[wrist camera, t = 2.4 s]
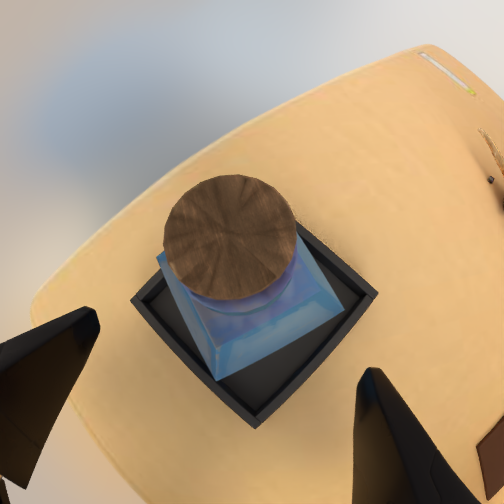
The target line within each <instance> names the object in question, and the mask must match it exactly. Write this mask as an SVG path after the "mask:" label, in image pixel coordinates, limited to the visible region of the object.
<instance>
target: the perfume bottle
mask: <svg viewBox="0 0 504 504" xmlns="http://www.w3.org/2000/svg"><path fill="white" fill-rule="evenodd" d="M163 246H164V251H163V252H162V253H161V254H159V255H158V256H157V257H156V258H157V260H158V263H159V265H160V268H161V270H162V272H163V275H164V277H165V279H166V281H167V284H168V286H169V288H170V290H171V293H172V295H173V297H174V299H175V301H176V304H177V306H178V308H179V310H180V312H181V314H182V316H183V319H184V321H185V323H186V325H187V327H188V329H189V331H190V333H191V335H192V337H193V339H194V341H195V343H196V345H197V347H198V349H199V351H200V353H201V355H202V356H203V358H204V360H205V362H206V364H207V366H208V368H209V370H210V371H211V373H212V375H213V377H214V379H215V381H218V380H220V379H222V378H224V377H226V376H229V375H231V374H233V373H235V372H237V371H239V370H241V369H243V368H245V367H247V366H249V365H250V364H252V363H254V362H256V361H258V360H260V359H262V358H264V357H266V356H268V355H269V354H271V353H273V352H275V351H277V350H279V349H280V348H282V347H284V346H286V345H288V344H289V343H291V342H293V341H295V340H296V339H298V338H300V337H301V336H303V335H305V334H307V333H308V332H310V331H312V330H313V329H315V328H317V327H318V326H320V325H322V324H323V323H325V322H326V321H328V320H330V319H331V318H333V317H334V316H336V315H338V314H339V313H341V312H342V311H344V310H345V309H344V308H343V306H342V304H341V303H340V301H339V299H338V298H337V296H336V294H335V293H334V291H333V289H332V288H331V286H330V284H329V283H328V281H327V279H326V278H325V276H324V274H323V273H322V271H321V270H320V268H319V266H318V265H317V263H316V262H315V260H314V258H313V257H312V255H311V254H310V252H309V250H308V249H307V247H306V246H305V244H304V243H303V241H302V239H301V238H300V236H299V235H298V233H297V232H296V222H295V218H294V215H293V213H292V211H291V209H290V207H289V204H288V202H287V201H286V200H285V199H284V198H283V197H282V196H281V195H280V193H279V192H278V191H277V190H276V189H275V188H274V187H272V186H270V185H268V184H266V183H264V182H263V181H261V180H259V179H257V178H252V177H248V176H243V175H224V176H217V177H214V178H211V179H209V180H206V181H203V182H200V183H199V184H197V185H196V186H194V187H193V188H192V189H190V190H189V191H187V192H186V193H184V195H183V196H182V197H181V198H180V199H179V201H178V202H177V203H176V204H175V206H174V207H173V208H172V210H171V212H170V215H169V217H168V220H167V222H166V224H165V230H164V241H163Z"/></svg>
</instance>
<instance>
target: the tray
mask: <svg viewBox="0 0 504 504" xmlns="http://www.w3.org/2000/svg"><path fill="white" fill-rule="evenodd" d="M295 222H296V232H297V233H298V235H299V236H300V238H301V239H302V241H303V243H304V244H305V246H306V247H307V249H308V250H309V252H310V254H311V255H312V257H313V258H314V260H315V262H316V263H317V265H318V266H319V268H320V270H321V271H322V273H323V274H324V276H325V278H326V279H327V281H328V283H329V284H330V286H331V288H332V289H333V291H334V293H335V294H336V296H337V298H338V299H339V301H340V303H341V304H342V306H343V308H344V309H345V310H344V311H342V312H341V313H339V314H338V315H336V316H334V317H333V318H331V319H330V320H328V321H326V322H325V323H323V324H322V325H320V326H318V327H317V328H315V329H313V330H312V331H310V332H308V333H307V334H305V335H303V336H301V337H300V338H298V339H296V340H295V341H293V342H291V343H289V344H288V345H286V346H284V347H282V348H280V349H279V350H277V351H275V352H273V353H271V354H269V355H268V356H266V357H264V358H262V359H260V360H258V361H256V362H254V363H252V364H250V365H249V366H247V367H245V368H243V369H241V370H239V371H237V372H235V373H233V374H231V375H229V376H226V377H224V378H222V379H220V380H218V381H215V379H214V377H213V375H212V373H211V371H210V370H209V368H208V366H207V364H206V362H205V360H204V358H203V356H202V355H201V353H200V351H199V349H198V347H197V345H196V343H195V341H194V339H193V337H192V335H191V333H190V331H189V329H188V327H187V325H186V323H185V321H184V319H183V316H182V314H181V312H180V310H179V308H178V306H177V304H176V301H175V299H174V297H173V295H172V293H171V290H170V288H169V286H168V284H167V281H166V279H165V277H164V275H163V272H162V270H161V268H160V269H159V270H158V272H157V273H156V274H155V275H154V276H153V277H152V278H151V279H150V280H149V281H148V282H147V283H146V284H145V285H144V286H143V287H142V288H141V289H140V290H139V291H138V292H137V293H136V295H134V297H133V298H132V299H131V300H130V301H131V303H132V304H133V305H134V306H135V308H136V309H137V310H138V311H139V313H140V314H141V315H142V316H143V317H144V319H145V320H146V321H147V322H148V323H149V325H150V326H151V327H152V328H153V329H154V330H155V332H156V333H157V334H158V335H159V336H160V337H161V338H162V340H163V341H164V342H165V343H166V344H167V345H168V346H169V347H170V348H171V350H172V351H173V352H174V353H175V354H176V355H177V356H178V357H179V358H180V359H181V360H182V361H183V362H184V364H185V365H186V366H187V367H188V368H189V369H190V370H191V371H192V372H193V373H194V374H195V375H196V376H197V377H198V378H199V379H200V380H201V381H202V382H203V383H204V384H205V385H206V386H207V387H208V388H209V389H210V390H211V391H212V392H214V393H215V394H216V395H217V396H218V397H219V398H220V399H221V400H222V401H223V402H224V403H225V404H226V405H227V406H229V407H230V408H231V409H232V410H233V411H234V412H235V413H236V414H238V415H239V416H240V417H241V418H242V419H243V420H244V421H246V422H247V423H248V424H249V425H250V426H251V427H253V428H254V429H256V428H257V427H258V426H260V425H261V423H263V422H264V421H265V420H266V419H267V418H268V417H269V416H270V415H271V414H273V413H274V412H275V411H276V410H277V409H278V408H279V407H280V406H281V405H282V404H283V403H284V402H285V401H286V400H287V399H288V398H289V397H290V396H291V395H292V394H293V393H294V392H295V391H296V390H297V389H298V388H299V387H300V386H301V385H302V384H303V383H304V382H305V381H306V380H307V379H308V378H309V377H310V376H311V374H312V373H313V372H314V371H315V370H316V369H317V368H318V367H319V366H320V365H321V364H322V362H323V361H324V360H325V359H326V358H327V357H328V356H329V355H330V353H331V352H332V351H333V350H334V349H335V348H336V347H337V345H338V344H339V343H340V342H341V341H342V339H343V338H344V337H345V336H346V335H347V333H348V332H349V331H350V330H351V329H352V327H353V326H354V325H355V324H356V322H357V321H358V320H359V319H360V317H361V316H362V315H363V313H364V312H365V311H366V310H367V308H368V307H369V306H370V304H371V303H372V302H373V300H374V299H375V298H376V296H377V295H378V292H377V291H376V290H375V289H374V288H373V287H372V286H371V285H370V284H369V283H367V282H366V281H365V280H364V279H363V278H362V277H361V276H360V275H359V274H357V273H356V272H355V271H354V270H353V269H352V268H351V267H350V266H348V265H347V264H346V263H345V262H344V261H343V260H342V259H340V258H339V257H338V256H337V255H336V254H335V253H334V252H332V251H331V250H330V249H329V248H328V247H327V246H325V245H324V244H323V243H322V242H321V241H320V240H318V239H317V238H316V237H315V236H314V235H312V234H311V233H310V232H309V231H308V230H306V229H305V228H304V227H303V226H302V225H300V224H299V223H298V222H297V221H296V220H295Z"/></svg>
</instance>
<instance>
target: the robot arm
mask: <svg viewBox="0 0 504 504" xmlns="http://www.w3.org/2000/svg"><path fill="white" fill-rule="evenodd" d="M99 333H100V324H99V320H98V317H97V314H96V311H95V310H94V309H93V308H90V307H87V306H84V307H81V308H79V309H77V310H74V311H72V312H70V313H68V314H65V315H63V316H61V317H59V318H56V319H54V320H52V321H50V322H47V323H45V324H43V325H41V326H38V327H36V328H34V329H32V330H30V331H27V332H25V333H23V334H21V335H19V336H16V337H14V338H12V339H10V340H7V341H6V342H3V343H1V344H0V504H10V501H9V497H8V494H7V490H6V486H5V482H4V480H3V479H2V477H5V478H7V479H8V480H10V481H12V482H13V483H14V484H16V485H18V486H20V487H21V488H23V489H25V490H26V488H27V486H28V484H29V481H30V478H31V476H32V473H33V471H34V468H35V466H36V463H37V461H38V459H39V456H40V454H41V450H42V449H43V447H44V444H45V442H46V440H47V438H48V436H49V434H50V431H51V430H52V427H53V425H54V423H55V421H56V419H57V417H58V415H59V413H60V411H61V409H62V407H63V405H64V403H65V401H66V399H67V397H68V396H69V394H70V392H71V390H72V388H73V386H74V384H75V383H76V381H77V379H78V377H79V375H80V373H81V372H82V370H83V368H84V366H85V364H86V362H87V359H88V357H89V355H90V353H91V350H92V348H93V346H94V344H95V342H96V339H97V337H98V335H99ZM352 504H481V503H480V502H479V501H478V500H477V499H476V498H475V496H474V495H473V494H472V493H471V492H470V490H469V489H468V488H467V487H466V486H465V484H464V483H463V482H462V481H461V480H460V479H459V477H458V476H457V475H456V473H455V472H454V471H453V470H452V468H451V467H450V466H449V464H448V463H447V461H446V460H445V459H444V457H443V456H442V454H441V453H440V451H439V450H438V449H437V447H436V446H435V444H434V443H433V441H432V440H431V438H430V437H429V435H428V434H427V432H426V431H425V430H424V428H423V427H422V425H421V424H420V422H419V421H418V419H417V418H416V417H415V415H414V414H413V412H412V411H411V410H410V408H409V407H408V405H407V404H406V403H405V401H404V400H403V398H402V397H401V396H400V394H399V393H398V391H397V390H396V389H395V387H394V386H393V385H392V383H391V382H390V380H389V379H388V378H387V376H386V375H385V374H384V372H383V371H382V370H381V369H380V368H374V367H368V368H367V369H366V370H365V372H364V374H363V376H362V377H361V379H360V381H359V382H358V385H357V390H356V404H355V417H354V428H353V493H352Z"/></svg>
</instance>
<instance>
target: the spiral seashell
mask: <svg viewBox="0 0 504 504" xmlns="http://www.w3.org/2000/svg"><path fill="white" fill-rule="evenodd" d="M478 130H479V132H480V133H481V135H482V136H483V138H484V139H485V141H486V142H487V144H488V145H489V147H490V149H491V152H492V154H493V156H494V158H495V160H496V162H497V164H498V166H499V168H500V170H501V171H502V174H503V176H504V159H503V157H502V155H501V153H500V152H499V150H498V148H497V147H496V145H495V143H494V142H493V140H492V139H491V138H490V137H489V136H488V134H487V133H486V132H485V131H484V130H483V129H481V128H480V129H478ZM488 181H489V182H490V183H493V181H494V178H493V177H492V176H490V177H489V179H488ZM503 200H504V199H503ZM503 203H504V202H503ZM503 207H504V204H503Z"/></svg>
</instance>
